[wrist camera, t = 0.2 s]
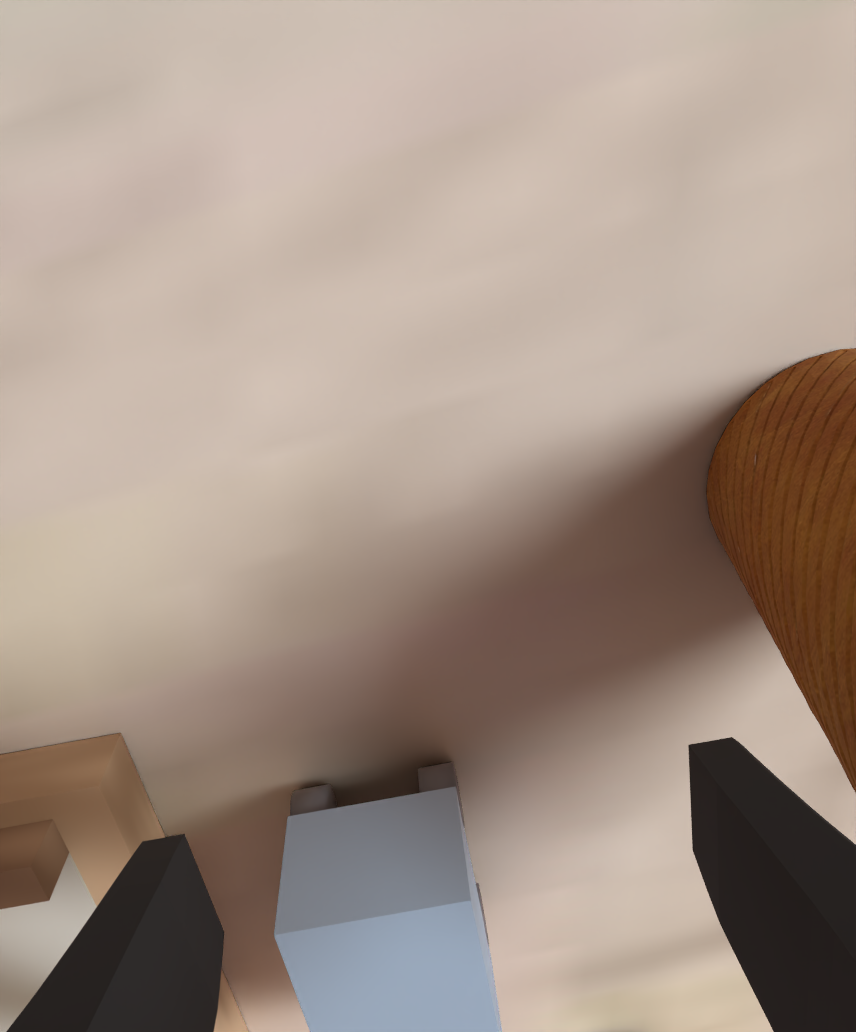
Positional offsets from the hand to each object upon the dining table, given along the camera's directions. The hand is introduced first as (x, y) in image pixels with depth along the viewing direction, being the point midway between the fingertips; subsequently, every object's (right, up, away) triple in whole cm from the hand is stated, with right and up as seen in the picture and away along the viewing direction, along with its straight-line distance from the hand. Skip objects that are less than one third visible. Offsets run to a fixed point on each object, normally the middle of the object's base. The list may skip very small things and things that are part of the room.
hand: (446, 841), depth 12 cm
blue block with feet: (-1, -5, +13) cm, 14 cm away
